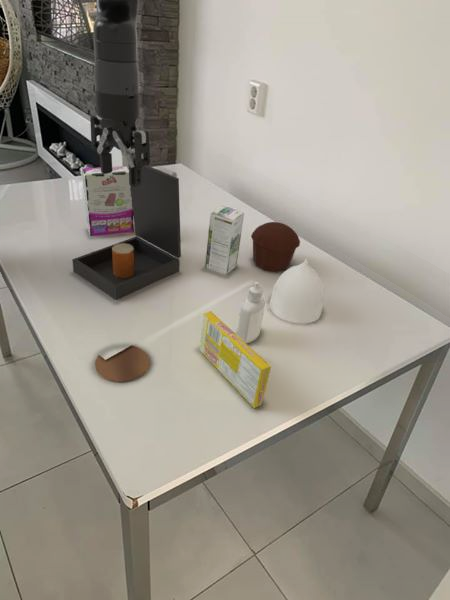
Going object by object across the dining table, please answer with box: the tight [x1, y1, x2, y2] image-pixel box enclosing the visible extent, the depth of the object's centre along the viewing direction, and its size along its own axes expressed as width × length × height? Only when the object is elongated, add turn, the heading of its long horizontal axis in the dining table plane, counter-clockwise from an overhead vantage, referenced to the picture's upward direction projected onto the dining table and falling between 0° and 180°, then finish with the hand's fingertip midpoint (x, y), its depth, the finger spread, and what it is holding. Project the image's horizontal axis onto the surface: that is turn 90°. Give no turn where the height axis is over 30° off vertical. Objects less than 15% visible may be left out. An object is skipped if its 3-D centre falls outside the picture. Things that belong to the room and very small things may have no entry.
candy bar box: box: [81, 165, 135, 237], centre depth 111 cm, size 11×5×16 cm, turn 114°
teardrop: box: [269, 258, 326, 325], centre depth 92 cm, size 11×11×12 cm
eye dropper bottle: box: [236, 281, 266, 345], centre depth 83 cm, size 4×6×12 cm
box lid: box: [127, 162, 182, 259], centre depth 99 cm, size 18×15×5 cm
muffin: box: [251, 221, 301, 273], centre depth 108 cm, size 12×11×10 cm
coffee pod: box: [112, 243, 134, 278], centre depth 97 cm, size 5×5×6 cm
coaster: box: [94, 345, 150, 383], centre depth 76 cm, size 9×9×1 cm
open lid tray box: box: [71, 235, 181, 301], centre depth 99 cm, size 18×15×4 cm
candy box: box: [199, 311, 272, 409], centre depth 74 cm, size 16×2×8 cm, turn 35°
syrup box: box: [204, 205, 245, 276], centre depth 102 cm, size 6×6×14 cm
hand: (120, 179), depth 87 cm, fingers open, 8 cm apart
